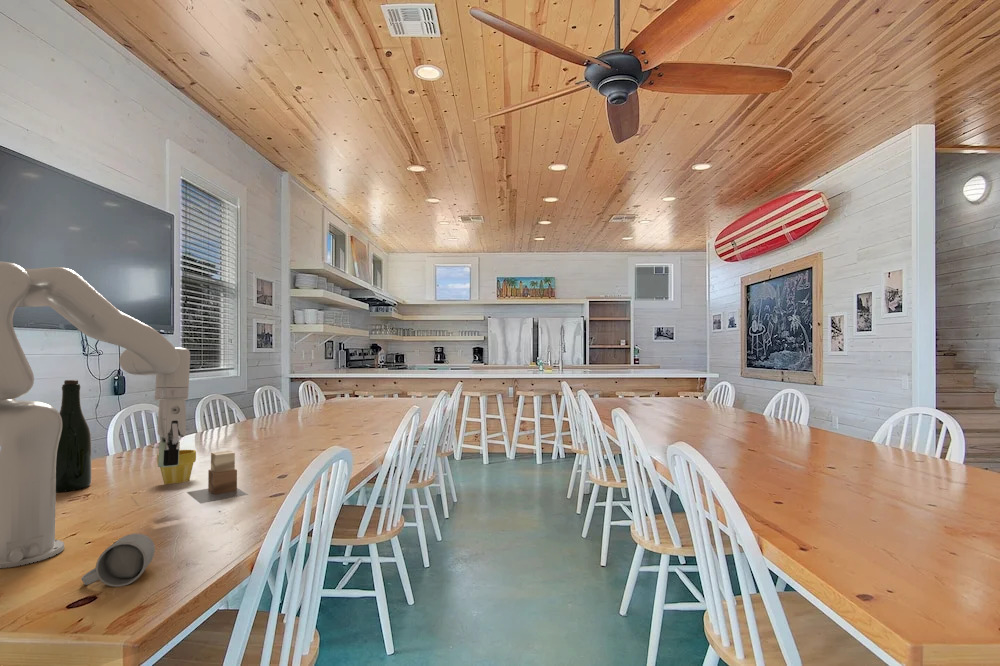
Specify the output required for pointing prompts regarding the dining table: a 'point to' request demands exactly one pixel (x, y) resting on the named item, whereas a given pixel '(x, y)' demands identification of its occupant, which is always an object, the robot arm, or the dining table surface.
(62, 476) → the beer bottle
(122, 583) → the ceramic mug
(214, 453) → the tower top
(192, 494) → the slate board
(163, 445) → the pale green rounded piece
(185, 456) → the plant pot
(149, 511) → the dining table surface
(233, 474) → the tower base
